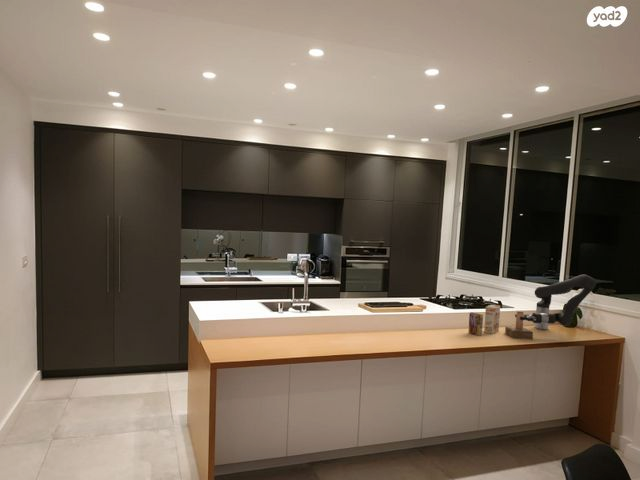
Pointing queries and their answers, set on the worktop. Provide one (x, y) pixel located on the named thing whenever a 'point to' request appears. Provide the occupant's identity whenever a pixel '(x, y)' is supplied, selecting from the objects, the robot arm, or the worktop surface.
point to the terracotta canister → (519, 322)
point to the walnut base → (519, 333)
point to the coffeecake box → (492, 319)
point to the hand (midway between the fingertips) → (517, 317)
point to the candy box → (475, 323)
